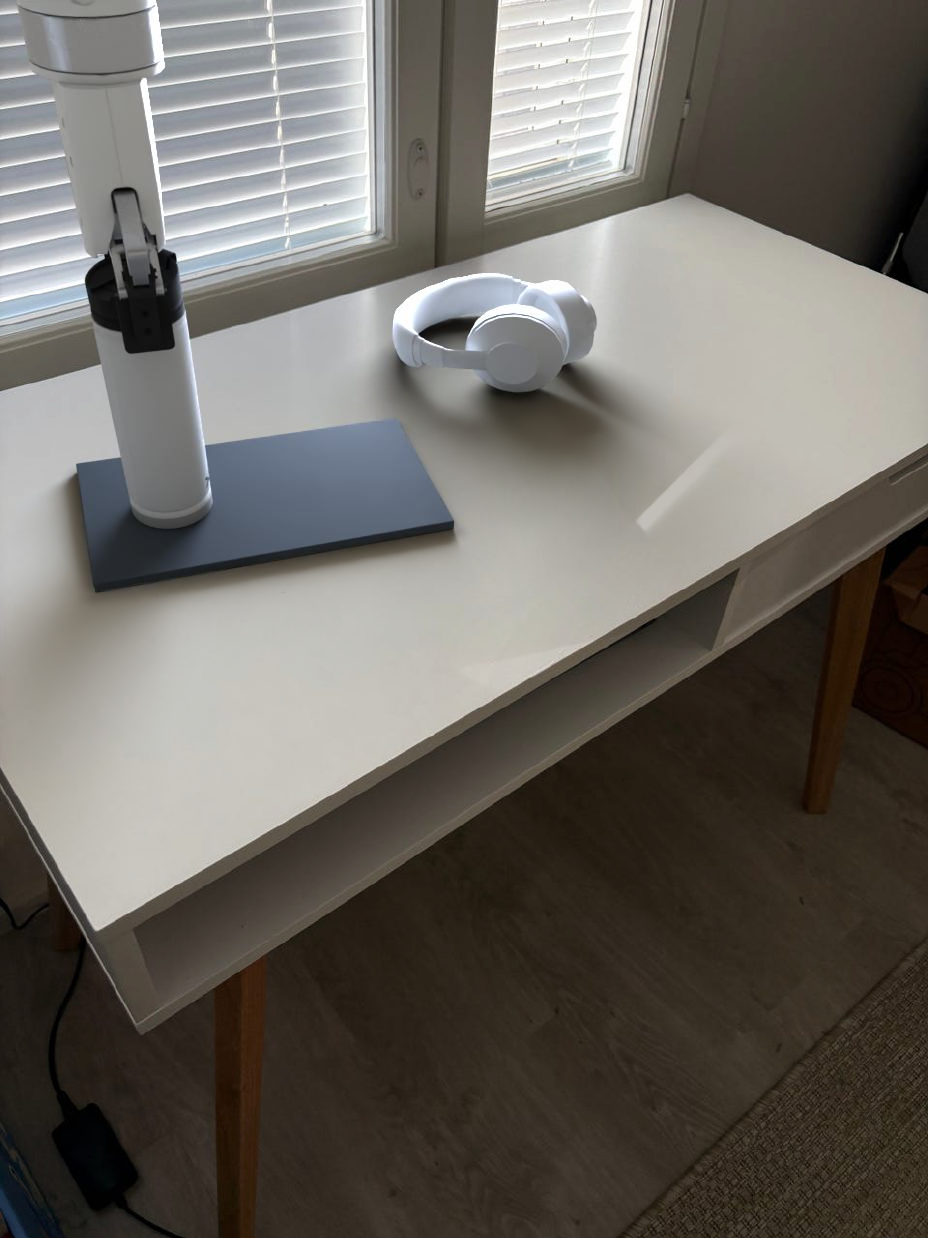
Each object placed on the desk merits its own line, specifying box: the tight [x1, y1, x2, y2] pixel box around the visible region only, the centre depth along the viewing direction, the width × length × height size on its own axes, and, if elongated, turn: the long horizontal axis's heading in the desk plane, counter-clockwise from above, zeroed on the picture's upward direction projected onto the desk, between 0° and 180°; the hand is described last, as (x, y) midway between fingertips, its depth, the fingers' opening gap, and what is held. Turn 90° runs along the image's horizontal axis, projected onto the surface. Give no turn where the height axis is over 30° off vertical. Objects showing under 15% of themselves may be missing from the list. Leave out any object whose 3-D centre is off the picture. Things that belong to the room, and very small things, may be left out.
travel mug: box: [84, 248, 212, 529], centre depth 74 cm, size 6×7×20 cm
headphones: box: [392, 272, 598, 393], centre depth 101 cm, size 18×8×20 cm
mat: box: [75, 417, 455, 593], centre depth 83 cm, size 28×16×1 cm, turn 110°
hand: (141, 315), depth 70 cm, fingers open, 9 cm apart
